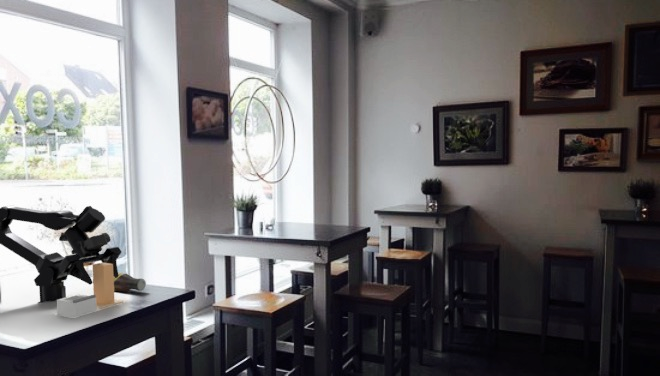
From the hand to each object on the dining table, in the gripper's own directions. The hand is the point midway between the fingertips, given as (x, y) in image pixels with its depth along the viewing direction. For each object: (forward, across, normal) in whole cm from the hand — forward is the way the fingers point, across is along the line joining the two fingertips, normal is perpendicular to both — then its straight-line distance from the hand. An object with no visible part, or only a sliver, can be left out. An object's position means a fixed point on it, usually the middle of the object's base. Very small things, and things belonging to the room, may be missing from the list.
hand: (104, 280), depth 152 cm
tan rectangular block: (+4, 0, +6) cm, 7 cm away
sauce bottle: (-12, +14, +20) cm, 27 cm away
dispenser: (+6, -4, +6) cm, 10 cm away
